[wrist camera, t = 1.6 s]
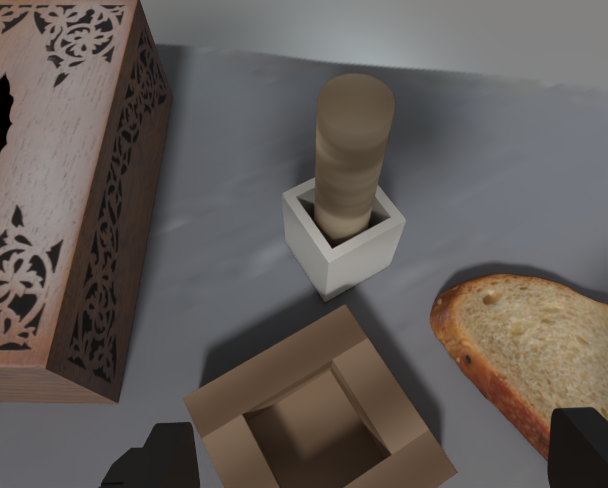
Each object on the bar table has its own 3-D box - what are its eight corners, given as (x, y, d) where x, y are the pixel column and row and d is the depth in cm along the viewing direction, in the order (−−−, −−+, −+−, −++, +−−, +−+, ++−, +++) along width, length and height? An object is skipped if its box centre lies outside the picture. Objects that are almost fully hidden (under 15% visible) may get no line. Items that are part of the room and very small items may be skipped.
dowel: (304, 242, 36) (302, 92, 22) (344, 221, 36) (366, 63, 23) (329, 281, 34) (344, 145, 21) (371, 257, 35) (411, 112, 22)
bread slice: (421, 281, 35) (433, 259, 32) (670, 273, 35) (708, 251, 32) (467, 581, 27) (489, 594, 24) (789, 570, 27) (856, 580, 24)
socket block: (194, 407, 31) (182, 398, 28) (341, 321, 34) (345, 304, 30) (281, 588, 27) (277, 601, 24) (441, 474, 29) (457, 472, 26)
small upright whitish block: (285, 242, 36) (281, 193, 30) (348, 209, 38) (355, 156, 32) (324, 302, 34) (328, 262, 28) (389, 265, 35) (406, 220, 30)
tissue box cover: (119, 404, 31) (45, 369, 23) (-105, 401, 32) (-266, 365, 23) (173, 99, 43) (138, -4, 34) (9, 98, 43) (-67, -5, 34)
